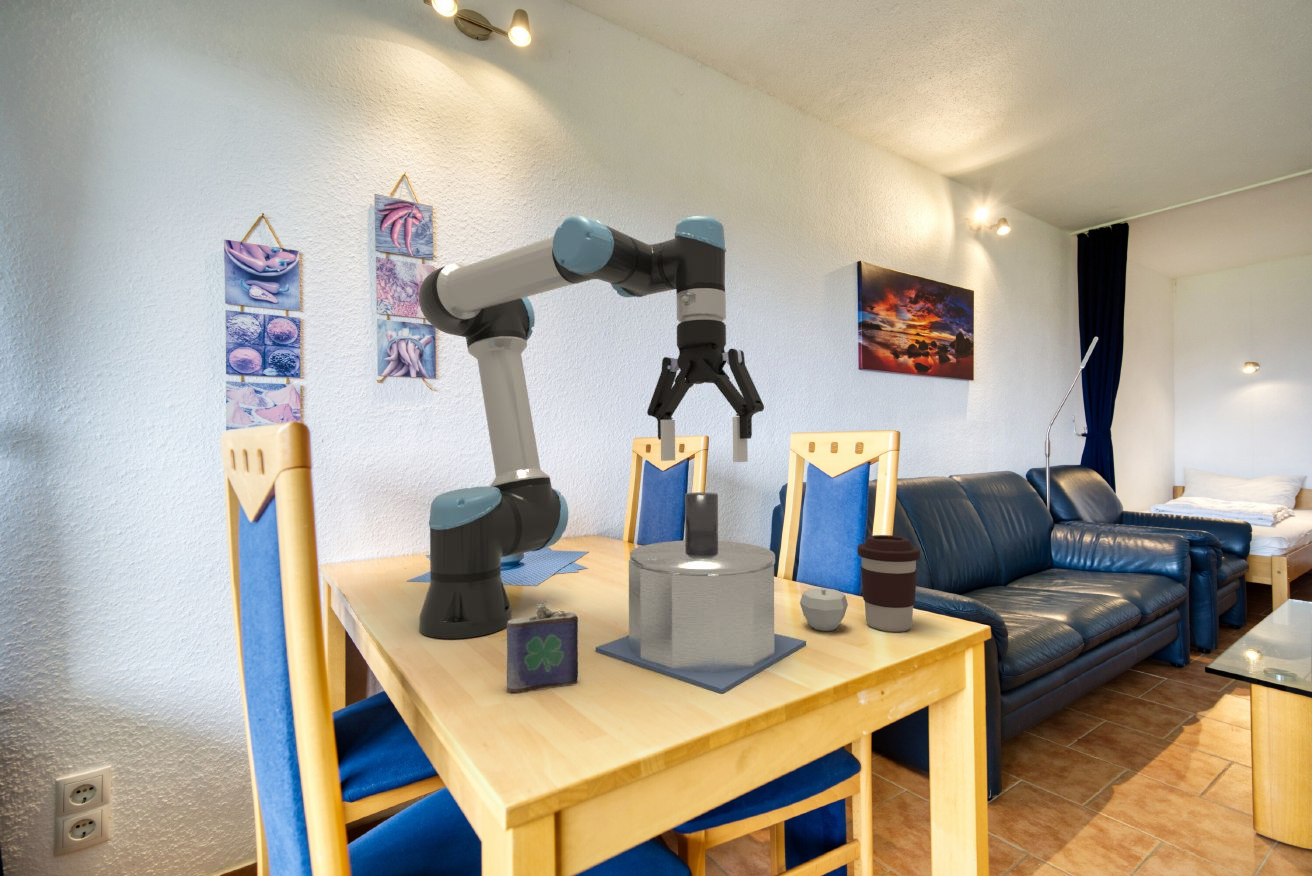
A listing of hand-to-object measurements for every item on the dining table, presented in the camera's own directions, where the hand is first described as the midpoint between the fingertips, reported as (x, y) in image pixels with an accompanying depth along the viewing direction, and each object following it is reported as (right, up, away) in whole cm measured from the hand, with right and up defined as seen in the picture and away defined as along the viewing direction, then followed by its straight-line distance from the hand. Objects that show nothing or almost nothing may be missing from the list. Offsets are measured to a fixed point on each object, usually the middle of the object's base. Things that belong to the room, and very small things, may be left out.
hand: (702, 461), depth 90 cm
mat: (0, -29, 0) cm, 29 cm away
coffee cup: (+33, -29, +10) cm, 45 cm away
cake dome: (0, -28, 0) cm, 28 cm away
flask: (-22, -29, -13) cm, 39 cm away
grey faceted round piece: (+21, -29, +10) cm, 37 cm away
